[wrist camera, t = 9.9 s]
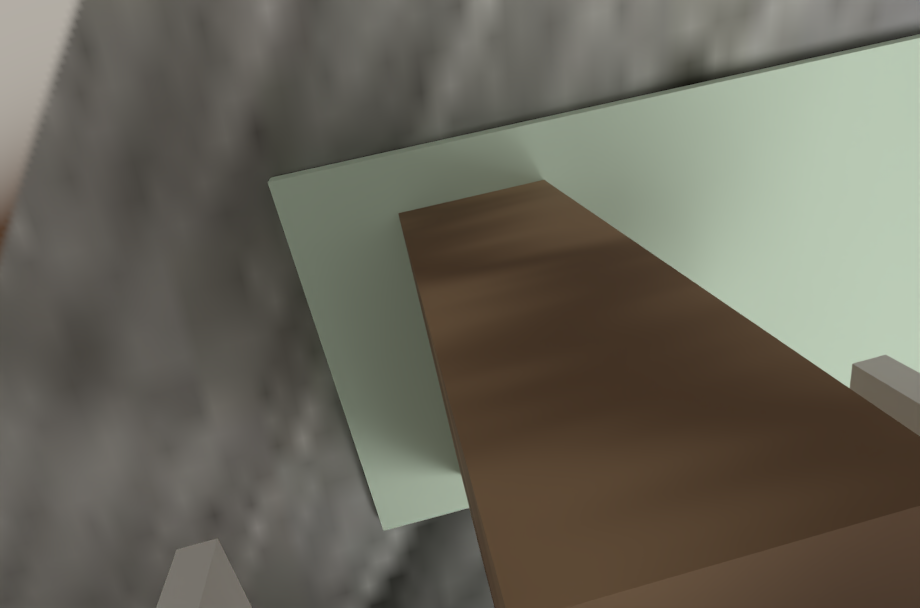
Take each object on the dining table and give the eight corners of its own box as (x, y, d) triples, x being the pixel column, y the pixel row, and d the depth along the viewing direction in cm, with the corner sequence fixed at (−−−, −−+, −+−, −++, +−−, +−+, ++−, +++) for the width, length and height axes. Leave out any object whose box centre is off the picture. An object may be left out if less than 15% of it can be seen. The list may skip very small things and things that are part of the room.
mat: (382, 517, 20) (383, 531, 19) (270, 177, 15) (267, 182, 14) (910, 375, 21) (924, 384, 21) (972, 22, 16) (993, 21, 16)
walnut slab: (460, 474, 19) (603, 1039, 8) (398, 213, 15) (509, 623, 4) (577, 443, 19) (863, 948, 8) (544, 179, 15) (991, 485, 5)
